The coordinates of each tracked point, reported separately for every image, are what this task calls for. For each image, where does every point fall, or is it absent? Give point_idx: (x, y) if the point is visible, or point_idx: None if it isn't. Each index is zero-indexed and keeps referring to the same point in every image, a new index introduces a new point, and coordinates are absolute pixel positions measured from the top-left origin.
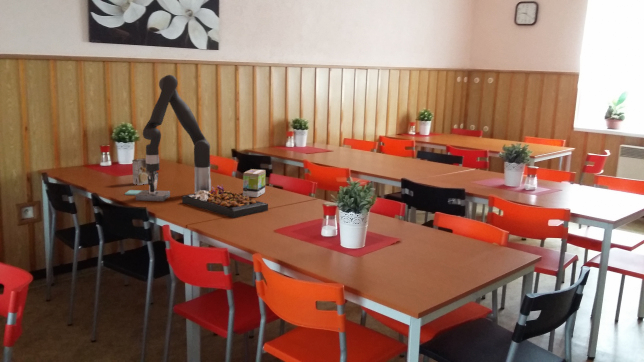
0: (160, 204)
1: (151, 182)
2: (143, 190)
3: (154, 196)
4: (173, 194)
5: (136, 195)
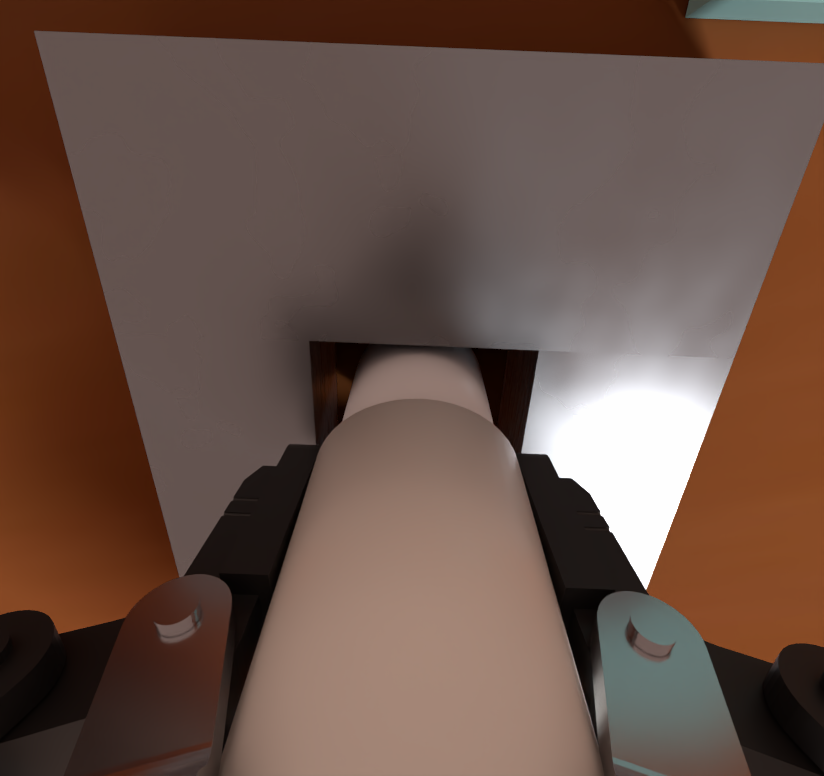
0: (41, 567)
1: (223, 765)
2: (765, 99)
3: (172, 510)
4: (684, 603)
5: (49, 71)
